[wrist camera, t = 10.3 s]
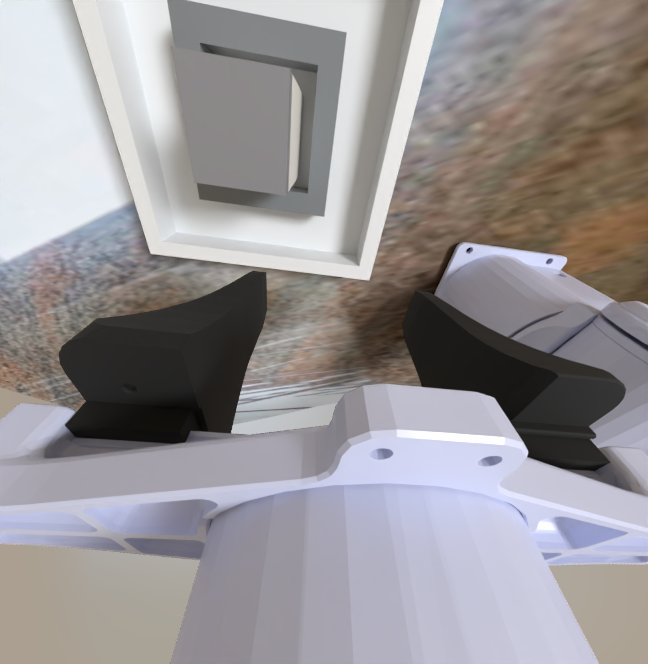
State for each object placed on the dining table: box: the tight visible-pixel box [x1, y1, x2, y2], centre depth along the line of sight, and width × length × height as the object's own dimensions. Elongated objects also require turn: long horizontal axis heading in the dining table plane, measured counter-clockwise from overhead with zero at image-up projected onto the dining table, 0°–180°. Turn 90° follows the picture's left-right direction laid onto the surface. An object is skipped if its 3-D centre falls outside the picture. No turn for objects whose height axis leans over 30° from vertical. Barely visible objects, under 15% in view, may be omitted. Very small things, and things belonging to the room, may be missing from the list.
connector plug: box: [171, 46, 303, 196], centre depth 12 cm, size 4×4×7 cm
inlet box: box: [72, 0, 444, 280], centre depth 15 cm, size 16×16×3 cm
